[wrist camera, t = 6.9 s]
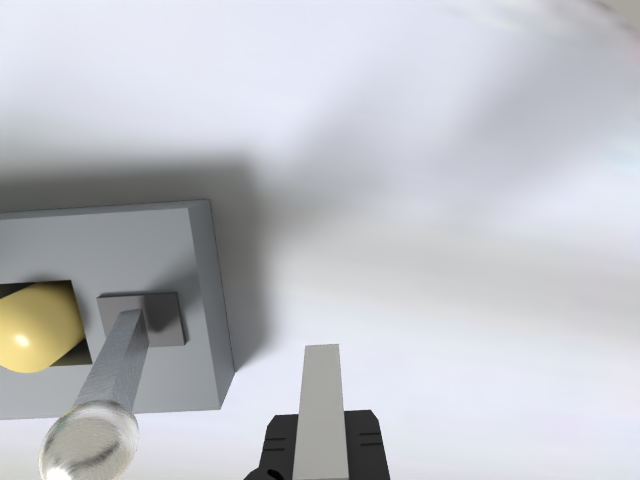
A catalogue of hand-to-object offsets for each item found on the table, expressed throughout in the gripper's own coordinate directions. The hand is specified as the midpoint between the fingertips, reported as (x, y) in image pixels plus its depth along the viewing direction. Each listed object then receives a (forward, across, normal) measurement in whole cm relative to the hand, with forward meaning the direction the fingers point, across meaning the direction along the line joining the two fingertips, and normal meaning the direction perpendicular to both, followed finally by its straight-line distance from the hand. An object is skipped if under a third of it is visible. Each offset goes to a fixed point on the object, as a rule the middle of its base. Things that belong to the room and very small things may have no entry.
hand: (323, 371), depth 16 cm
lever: (+5, -12, 0) cm, 13 cm away
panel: (+10, -22, 0) cm, 24 cm away
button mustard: (+8, -19, 0) cm, 20 cm away
